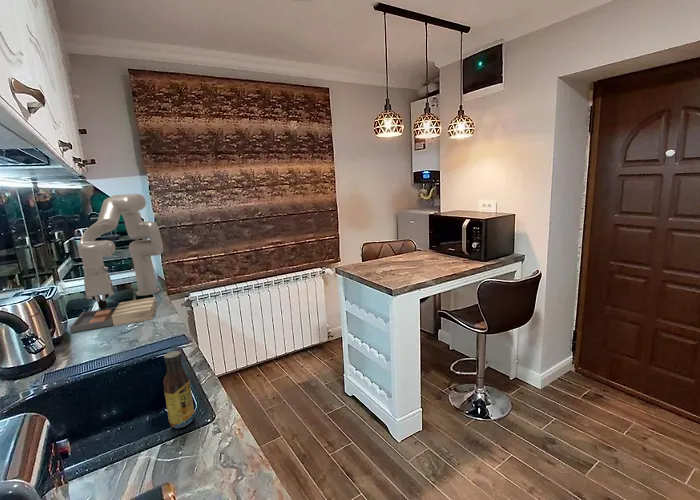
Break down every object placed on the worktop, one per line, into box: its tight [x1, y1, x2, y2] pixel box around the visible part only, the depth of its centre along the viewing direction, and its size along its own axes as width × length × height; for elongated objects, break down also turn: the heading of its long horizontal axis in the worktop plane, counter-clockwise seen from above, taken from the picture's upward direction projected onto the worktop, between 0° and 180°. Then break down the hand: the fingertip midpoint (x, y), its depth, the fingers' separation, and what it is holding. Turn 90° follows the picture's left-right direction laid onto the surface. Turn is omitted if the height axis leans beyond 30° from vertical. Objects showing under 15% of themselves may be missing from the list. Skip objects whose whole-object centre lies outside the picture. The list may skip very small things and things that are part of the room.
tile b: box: [88, 316, 107, 324], centre depth 168 cm, size 6×6×2 cm
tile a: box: [94, 310, 112, 319], centre depth 177 cm, size 6×6×2 cm
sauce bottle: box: [163, 350, 195, 429], centre depth 95 cm, size 7×6×20 cm
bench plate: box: [112, 296, 157, 327], centre depth 179 cm, size 20×16×5 cm
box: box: [69, 306, 117, 334], centre depth 173 cm, size 20×16×3 cm
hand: (103, 308), depth 169 cm, fingers closed
